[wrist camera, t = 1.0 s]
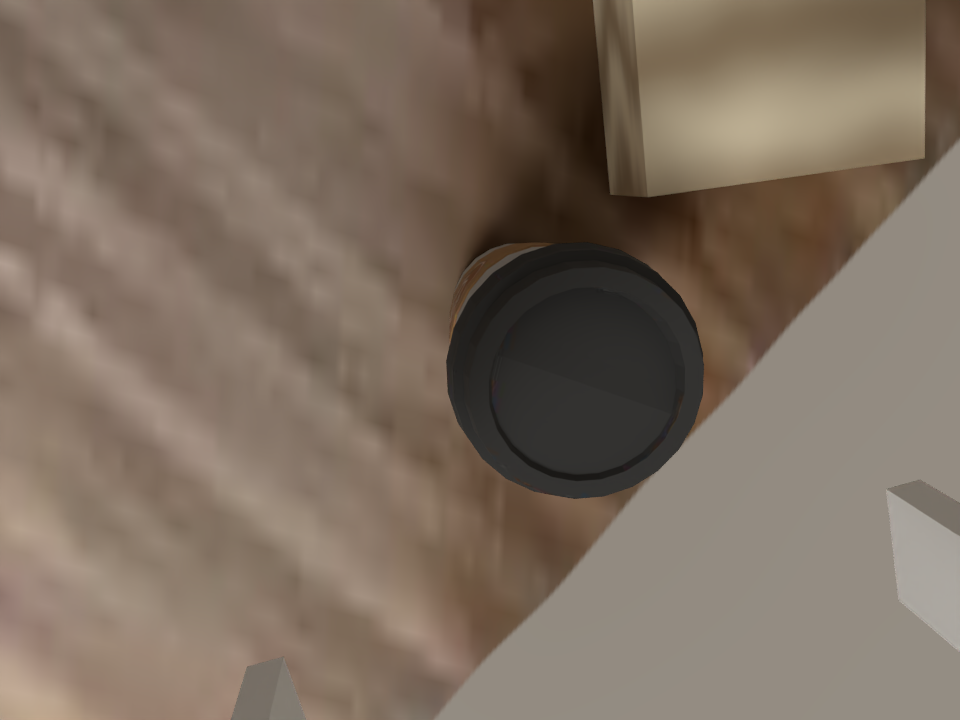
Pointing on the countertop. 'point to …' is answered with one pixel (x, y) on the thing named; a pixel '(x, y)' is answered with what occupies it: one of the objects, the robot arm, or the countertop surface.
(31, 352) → the countertop surface
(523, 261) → the coffee cup
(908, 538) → the robot arm
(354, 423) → the countertop surface
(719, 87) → the maple block
